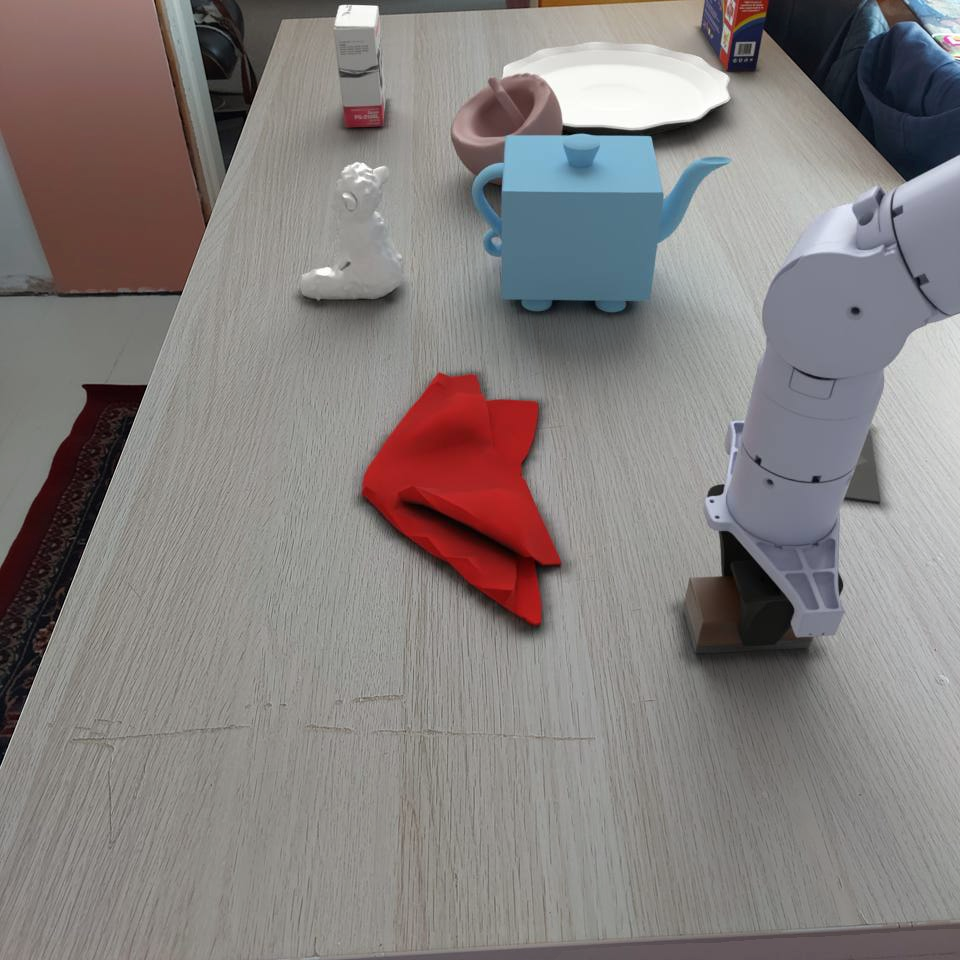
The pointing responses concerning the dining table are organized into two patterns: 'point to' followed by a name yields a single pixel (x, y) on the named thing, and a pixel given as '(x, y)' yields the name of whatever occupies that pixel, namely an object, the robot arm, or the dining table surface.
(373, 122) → the ink box
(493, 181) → the mortar and pestle
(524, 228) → the teapot
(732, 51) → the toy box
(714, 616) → the eraser
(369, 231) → the seated beast figurine
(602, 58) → the plate
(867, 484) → the dark grey flat slab
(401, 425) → the cloth
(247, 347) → the dining table surface
